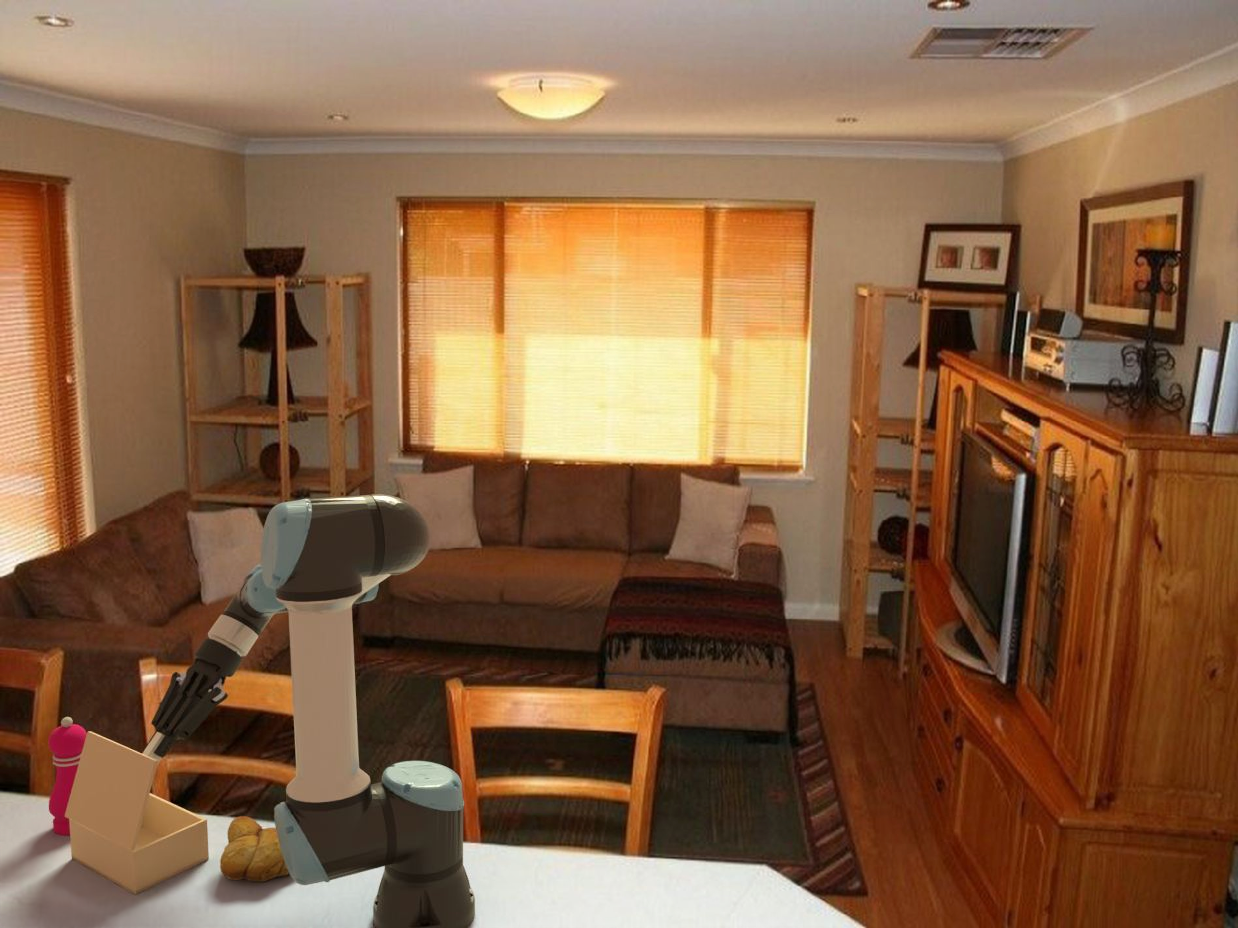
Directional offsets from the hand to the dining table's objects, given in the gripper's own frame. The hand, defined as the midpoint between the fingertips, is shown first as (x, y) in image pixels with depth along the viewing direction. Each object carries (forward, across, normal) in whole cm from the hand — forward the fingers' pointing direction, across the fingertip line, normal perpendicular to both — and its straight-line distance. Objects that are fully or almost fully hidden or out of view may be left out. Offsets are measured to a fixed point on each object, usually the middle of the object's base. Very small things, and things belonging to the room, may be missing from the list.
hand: (141, 771), depth 177 cm
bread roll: (+5, -20, -16) cm, 26 cm away
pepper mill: (+12, +18, -9) cm, 24 cm away
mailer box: (+11, 0, -9) cm, 15 cm away
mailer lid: (+4, 0, +3) cm, 5 cm away
